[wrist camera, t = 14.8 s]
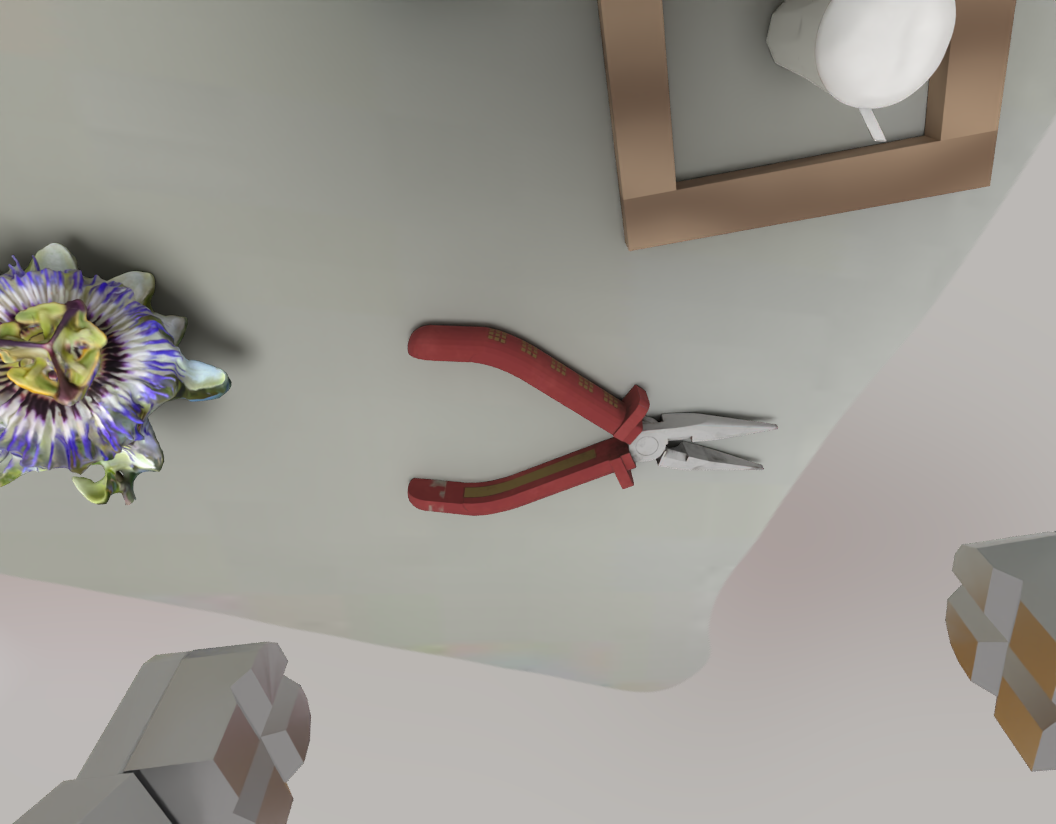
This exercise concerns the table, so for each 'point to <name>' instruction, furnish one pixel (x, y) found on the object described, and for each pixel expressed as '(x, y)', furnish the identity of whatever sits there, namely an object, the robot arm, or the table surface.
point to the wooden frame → (809, 183)
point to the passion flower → (88, 373)
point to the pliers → (620, 418)
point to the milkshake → (863, 47)
